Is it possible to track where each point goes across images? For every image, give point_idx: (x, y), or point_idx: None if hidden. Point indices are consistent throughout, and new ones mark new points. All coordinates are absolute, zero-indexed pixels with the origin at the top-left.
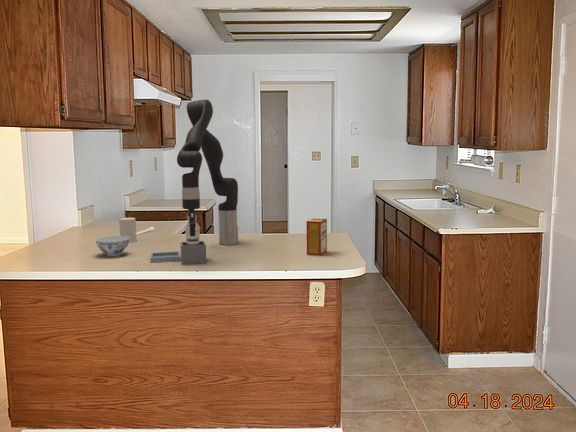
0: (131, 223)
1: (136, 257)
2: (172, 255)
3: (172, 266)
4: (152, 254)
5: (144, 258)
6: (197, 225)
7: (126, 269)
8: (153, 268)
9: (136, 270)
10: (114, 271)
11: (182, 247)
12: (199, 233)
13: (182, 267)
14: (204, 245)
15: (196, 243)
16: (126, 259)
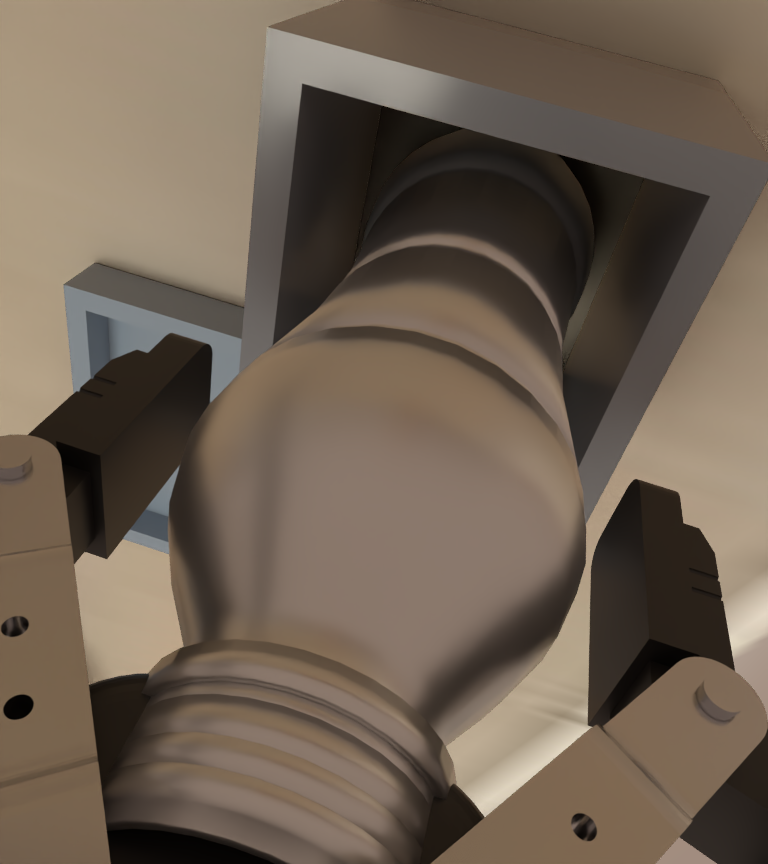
0: None
1: (89, 575)
2: (126, 350)
3: (602, 496)
4: (158, 540)
5: (141, 548)
6: (507, 547)
7: (482, 743)
8: (572, 630)
9: (559, 721)
10: (498, 796)
11: None
12: (495, 328)
13: (730, 439)
14: (757, 194)
15: (558, 318)
16: (143, 639)
